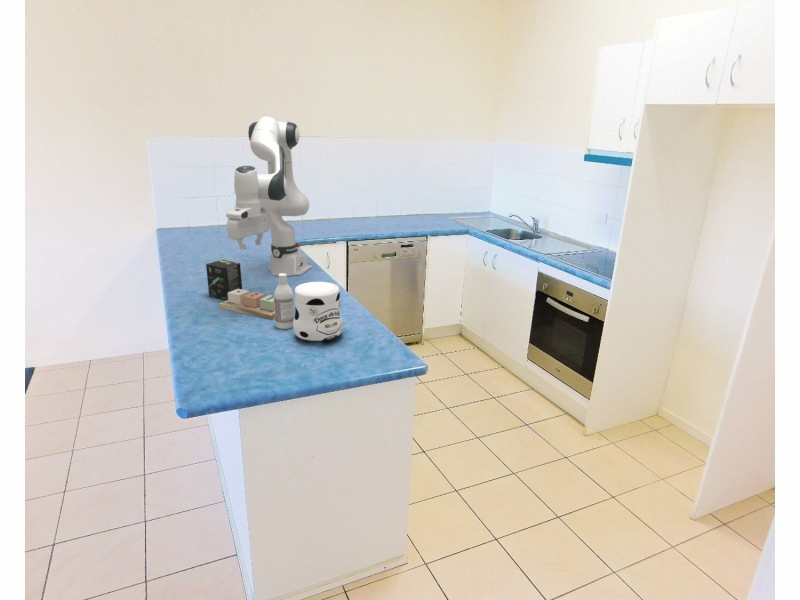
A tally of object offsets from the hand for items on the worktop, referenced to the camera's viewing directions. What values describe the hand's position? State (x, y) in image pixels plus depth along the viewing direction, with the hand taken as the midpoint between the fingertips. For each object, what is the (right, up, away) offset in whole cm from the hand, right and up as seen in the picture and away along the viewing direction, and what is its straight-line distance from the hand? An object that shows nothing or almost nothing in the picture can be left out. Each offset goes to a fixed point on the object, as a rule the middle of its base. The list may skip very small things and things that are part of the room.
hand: (250, 246), depth 205 cm
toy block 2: (-1, -22, +8) cm, 24 cm away
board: (-1, -24, +9) cm, 26 cm away
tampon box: (-17, -19, +23) cm, 34 cm away
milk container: (+28, -34, -15) cm, 46 cm away
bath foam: (+15, -30, -7) cm, 34 cm away
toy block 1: (-8, -21, +11) cm, 25 cm away
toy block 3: (+7, -24, +5) cm, 25 cm away
